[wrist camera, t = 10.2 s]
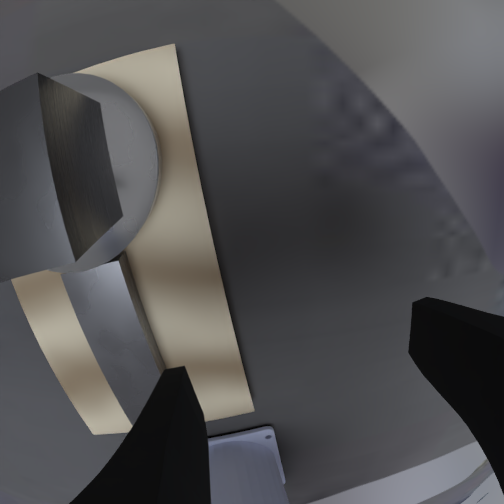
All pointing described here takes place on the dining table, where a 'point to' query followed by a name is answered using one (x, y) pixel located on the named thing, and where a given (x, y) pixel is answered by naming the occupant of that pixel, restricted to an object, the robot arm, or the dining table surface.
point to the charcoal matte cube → (52, 177)
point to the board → (152, 271)
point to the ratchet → (119, 251)
